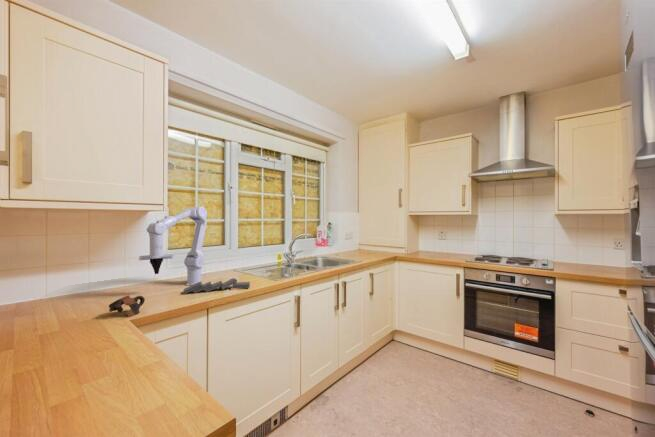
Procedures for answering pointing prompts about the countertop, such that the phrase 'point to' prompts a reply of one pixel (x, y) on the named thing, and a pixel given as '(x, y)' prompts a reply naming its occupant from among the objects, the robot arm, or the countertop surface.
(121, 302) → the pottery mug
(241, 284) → the domino
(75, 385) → the countertop surface
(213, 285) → the domino
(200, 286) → the domino
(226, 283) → the domino
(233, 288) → the domino
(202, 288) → the domino
